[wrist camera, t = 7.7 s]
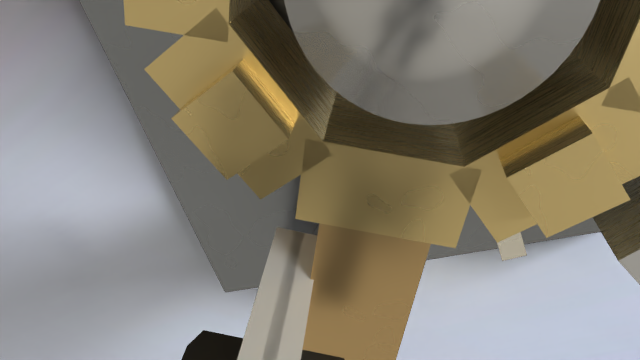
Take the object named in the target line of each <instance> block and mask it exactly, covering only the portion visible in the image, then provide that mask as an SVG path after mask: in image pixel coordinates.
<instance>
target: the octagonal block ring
mask: <svg viewBox="0 0 640 360" xmlns="http://www.w3.org/2000/svg"><path fill="white" fill-rule="evenodd" d="M124 15H125V25H127V26H133V27H139V28H145V29H151V30H157V31H163V32H169V33H175V34H180V35H184V36H183V37H181V38H180V39H179V40H178V41H177V42H176V43H174V44H173V45H172V46H171V47H170V48H168V49H167V50H166V51H165V52H164V53H163V54H161V55H160V56H159V57H158V58H157V59H156V60H154V61H153V62H152V63H151V64H150V65H149V66H147V67H146V68H145V69H144V70H145V71H146V72H147V73H148V74H149V75H150V76H151V78H152V79H153V80H154V81H155V82H156V83H157V84H158V85H159V87H160V88H161V89H162V90H163V91H164V92H165V93H166V94H167V95H168V97H169V98H170V99H171V100H172V101H173V102H174V103H175V104H176V106H177V107H178V108H179V109H180V110H179V111H178V112H177V113H176V114H175V115H174V116H173V117H172V118H171V119H172V120H173V121H174V122H175V123H176V124H177V126H178V127H179V128H180V129H181V130H182V131H183V132H184V133H185V134H186V135H187V137H188V138H189V139H190V140H191V141H192V142H193V143H194V144H195V145H196V146H197V148H198V149H199V150H200V151H201V152H202V153H203V154H204V155H205V156H206V158H207V159H208V160H209V161H210V162H211V163H212V164H213V165H214V166H215V167H216V169H217V170H218V171H219V172H220V173H221V174H222V175H223V176H224V177H225V178H226V180H228V179H229V178H231V177H232V176H234V175H235V174H238V175H239V176H240V177H241V178H242V179H243V181H244V182H245V183H246V184H247V185H248V186H249V187H250V188H251V189H252V191H253V192H254V193H255V194H256V195H257V196H258V197H259V198H260V200H261V199H262V198H264V197H266V196H267V195H269V194H270V193H272V192H274V191H275V190H277V189H278V188H280V187H282V186H283V185H285V184H286V183H288V182H290V181H291V180H293V179H295V178H296V177H298V176H299V175H301V179H300V186H299V194H298V201H297V209H296V216H295V219H299V220H304V221H310V222H315V223H319V229H318V235H317V241H316V247H315V254H314V260H313V266H312V272H311V278H310V279H312V280H314V282H313V288H312V294H311V300H310V306H309V312H308V318H307V325H306V331H305V337H304V343H303V349H302V350H307V351H312V352H317V353H322V354H327V355H332V356H337V357H341V358H344V359H345V360H396V357H397V354H398V350H399V347H400V344H401V341H402V337H403V334H404V331H405V327H406V324H407V321H408V317H409V314H410V311H411V308H412V304H413V301H414V298H415V294H416V291H417V288H418V285H419V281H420V278H421V275H422V271H423V268H424V265H425V261H426V258H427V255H428V252H429V248H430V245H431V244H435V245H441V246H446V247H451V248H456V246H457V243H458V240H459V237H460V234H461V231H462V228H463V225H464V222H465V219H466V216H467V213H468V210H469V207H470V205H471V207H472V208H473V209H474V211H475V212H476V214H477V215H478V216H479V218H480V219H481V221H482V222H483V223H484V225H485V226H486V228H487V229H488V230H489V232H490V233H491V235H492V236H493V237H494V239H495V240H496V242H497V243H498V242H500V241H502V240H504V239H506V238H508V237H511V236H513V235H515V234H517V233H519V232H521V231H523V230H526V229H528V228H530V227H532V226H534V225H536V224H538V226H539V227H540V229H541V230H542V232H543V233H544V235H545V236H546V238H548V237H550V236H552V235H554V234H556V233H559V232H561V231H563V230H565V229H567V228H570V227H572V226H574V225H576V224H578V223H581V222H583V221H585V220H587V219H589V218H592V217H594V216H596V215H598V214H600V213H603V212H605V211H607V210H609V209H611V208H614V207H616V206H618V205H620V204H622V203H625V202H627V201H629V200H630V198H629V196H628V194H627V193H626V191H625V189H624V187H623V186H622V184H624V183H626V182H628V181H630V180H632V179H634V178H636V177H639V176H640V0H600V2H599V5H598V7H597V10H596V12H595V14H594V17H593V19H592V21H591V22H590V24H589V26H588V28H587V30H586V31H585V33H584V35H583V37H582V38H581V40H580V41H579V43H578V44H577V45H576V47H575V48H574V49H573V51H572V52H571V54H570V55H569V56H568V57H567V59H566V60H565V61H564V62H563V63H562V64H561V65H560V66H559V67H558V69H557V70H556V71H555V72H554V73H553V74H552V75H550V76H549V77H548V78H547V79H546V80H545V81H544V82H543V83H541V84H540V85H539V86H538V87H537V88H535V89H534V90H532V91H531V92H530V93H528V94H527V95H525V96H524V97H522V98H521V99H519V100H517V101H516V102H514V103H512V104H510V105H508V106H506V107H505V108H503V109H500V110H498V111H495V112H493V113H491V114H488V115H486V116H483V117H479V118H476V119H472V120H469V121H465V122H459V123H453V124H445V125H418V124H408V123H403V122H398V121H393V120H390V119H387V118H383V117H380V116H377V115H375V114H372V113H370V112H368V111H366V110H364V109H362V108H360V107H358V106H356V105H355V104H353V103H352V102H350V101H349V100H347V99H345V98H344V97H343V96H341V95H340V94H339V93H338V92H337V91H335V90H334V89H333V88H332V87H330V86H329V85H328V83H327V82H326V81H325V80H324V79H323V78H322V77H321V76H320V75H319V74H318V73H317V72H316V70H315V69H314V67H313V66H312V65H311V63H310V62H309V61H308V59H307V58H306V56H305V54H304V52H303V51H302V49H301V47H300V45H299V43H298V42H297V39H296V37H295V35H294V33H293V32H292V31H291V29H290V28H289V27H288V25H287V24H286V23H285V21H284V20H283V19H282V17H281V16H280V15H279V13H278V12H277V11H276V9H275V8H274V7H273V5H272V4H271V3H270V1H269V0H124Z"/></svg>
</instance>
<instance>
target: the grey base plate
mask: <svg viewBox="0 0 640 360" xmlns="http://www.w3.org/2000/svg"><path fill="white" fill-rule="evenodd" d="M79 1H80V3H81V5H82V7H83V9H84V11H85V13H86V15H87V17H88V19H89V21H90V23H91V25H92V27H93V29H94V31H95V33H96V35H97V37H98V39H99V41H100V43H101V45H102V47H103V49H104V51H105V53H106V55H107V57H108V59H109V61H110V63H111V65H112V67H113V69H114V71H115V73H116V75H117V77H118V79H119V81H120V83H121V85H122V87H123V89H124V91H125V93H126V95H127V97H128V99H129V101H130V103H131V105H132V107H133V109H134V111H135V113H136V115H137V117H138V119H139V121H140V123H141V125H142V127H143V129H144V131H145V133H146V135H147V137H148V139H149V141H150V143H151V145H152V147H153V149H154V151H155V153H156V155H157V157H158V159H159V161H160V163H161V165H162V167H163V169H164V171H165V173H166V175H167V177H168V179H169V181H170V183H171V185H172V187H173V189H174V191H175V193H176V195H177V197H178V199H179V201H180V203H181V205H182V207H183V209H184V211H185V213H186V215H187V217H188V219H189V221H190V223H191V225H192V227H193V229H194V231H195V233H196V235H197V237H198V239H199V241H200V243H201V245H202V247H203V249H204V251H205V253H206V255H207V257H208V259H209V261H210V263H211V265H212V267H213V269H214V271H215V273H216V275H217V277H218V279H219V281H220V283H221V285H222V287H223V289H224V291H225V292H231V291H237V290H243V289H250V288H256V287H259V285H260V282H261V278H262V275H263V272H264V268H265V265H266V262H267V258H268V255H269V252H270V249H271V245H272V242H273V239H274V235H275V232H276V229H277V227H279V228H284V229H289V230H294V231H298V232H303V233H307V234H312V235H318V229H319V223H315V222H310V221H304V220H299V219H295V216H296V209H297V201H298V194H299V186H300V179H301V175H299V176H298V177H296V178H295V179H293V180H291V181H290V182H288V183H286V184H285V185H283V186H282V187H280V188H278V189H277V190H275V191H274V192H272V193H270V194H269V195H267V196H266V197H264V198H262V199H261V200H260V198H259V197H258V196H257V195H256V194H255V193H254V192H253V191H252V189H251V188H250V187H249V186H248V185H247V184H246V183H245V182H244V181H243V179H242V178H241V177H240V176H239V175H238V174H235V175H234V176H232V177H231V178H229V179H228V180H226V178H225V177H224V176H223V175H222V174H221V173H220V172H219V171H218V170H217V169H216V167H215V166H214V165H213V164H212V163H211V162H210V161H209V160H208V159H207V158H206V156H205V155H204V154H203V153H202V152H201V151H200V150H199V149H198V148H197V146H196V145H195V144H194V143H193V142H192V141H191V140H190V139H189V138H188V137H187V135H186V134H185V133H184V132H183V131H182V130H181V129H180V128H179V127H178V126H177V124H176V123H175V122H174V121H173V120H172V119H171V118H172V117H173V116H174V115H175V114H176V113H177V112H178V111H179V110H180V109H179V108H178V107H177V106H176V104H175V103H174V102H173V101H172V100H171V99H170V98H169V97H168V95H167V94H166V93H165V92H164V91H163V90H162V89H161V88H160V87H159V85H158V84H157V83H156V82H155V81H154V80H153V79H152V78H151V76H150V75H149V74H148V73H147V72H146V71H145V70H144V69H145V68H146V67H147V66H149V65H150V64H151V63H152V62H153V61H154V60H156V59H157V58H158V57H159V56H160V55H161V54H163V53H164V52H165V51H166V50H167V49H168V48H170V47H171V46H172V45H173V44H174V43H176V42H177V41H178V40H179V39H180V38H181V37H183V36H184V35H180V34H175V33H169V32H163V31H157V30H151V29H145V28H139V27H133V26H127V25H125V15H124V0H79ZM269 1H270V3H271V4H272V5H273V7H274V8H275V9H276V11H277V12H278V13H279V15H280V16H281V17H282V19H283V20H284V21H285V23H286V24H287V25H288V27H289V28H290V29H291V31H292V32H293V33H294V35H295V37H296V39H297V42H298V43H299V45H300V47H301V49H302V51H303V52H304V54H305V56H306V58H307V59H308V61H309V62H310V63H311V65H312V66H313V67H314V69H315V70H316V72H317V73H318V74H319V75H320V76H321V77H322V78H323V79H324V80H325V81H326V82H327V83H328V85H329V86H330V87H332V88H333V89H334V90H335V91H337V92H338V93H339V94H340V95H341V96H343V97H344V98H345V99H347V100H349V101H350V102H352V103H353V104H355V105H356V106H358V107H360V108H362V109H364V110H366V111H368V112H370V113H372V114H375V115H377V116H380V117H383V118H387V119H390V120H393V121H398V122H403V123H408V124H418V125H445V124H453V123H459V122H465V121H469V120H472V119H476V118H479V117H483V116H486V115H488V114H491V113H493V112H495V111H498V110H500V109H503V108H505V107H506V106H508V105H510V104H512V103H514V102H516V101H517V100H519V99H521V98H522V97H524V96H525V95H527V94H528V93H530V92H531V91H532V90H534V89H535V88H537V87H538V86H539V85H540V84H541V83H543V82H544V81H545V80H546V79H547V78H548V77H549V76H550V75H552V74H553V73H554V72H555V71H556V70H557V69H558V67H559V66H560V65H561V64H562V63H563V62H564V61H565V60H566V59H567V57H568V56H569V55H570V54H571V52H572V51H573V49H574V48H575V47H576V45H577V44H578V43H579V41H580V40H581V38H582V37H583V35H584V33H585V31H586V30H587V28H588V26H589V24H590V22H591V21H592V19H593V17H594V14H595V12H596V10H597V7H598V5H599V2H600V0H269ZM622 186H623V187H624V189H625V191H626V193H627V194H628V196H629V198H630V200H629V201H627V202H625V203H622V204H620V205H618V206H616V207H614V208H611V209H609V210H607V211H605V212H603V213H600V214H598V215H596V216H594V217H592V218H589V219H587V220H585V221H583V222H581V223H578V224H576V225H574V226H572V227H570V228H567V229H565V230H563V231H561V232H559V233H556V234H554V235H552V236H550V237H548V238H546V236H545V235H544V233H543V232H542V230H541V229H540V227H539V226H538V224H536V225H534V226H532V227H530V228H528V229H526V230H523V231H521V232H519V233H517V234H515V235H513V236H511V237H508V238H506V239H504V240H502V241H500V242H498V243H497V242H496V240H495V239H494V237H493V236H492V235H491V233H490V232H489V230H488V229H487V228H486V226H485V225H484V223H483V222H482V221H481V219H480V218H479V216H478V215H477V214H476V212H475V211H474V209H473V208H472V207H471V205H470V207H469V210H468V213H467V216H466V219H465V222H464V225H463V228H462V231H461V234H460V237H459V240H458V243H457V246H456V248H451V247H446V246H441V245H435V244H431V245H430V248H429V252H428V255H427V258H426V260H429V259H435V258H442V257H448V256H454V255H460V254H466V253H473V252H479V251H485V250H491V249H497V248H499V251H500V254H501V258H502V261H504V260H508V259H513V258H517V257H522V256H526V255H527V254H526V250H525V246H524V244H528V243H535V242H541V241H547V240H553V239H559V238H566V237H572V236H578V235H584V234H590V233H597V232H601V233H602V234H603V236H604V238H605V239H606V241H607V243H608V244H609V246H610V248H611V249H612V251H613V253H614V254H615V256H616V258H617V260H618V261H619V262H620V263H621V264H622V266H623V267H624V268H625V269H626V270H627V271H628V272H629V273H630V274H631V276H632V277H633V278H634V279H635V280H636V281H637V282H638V283H639V284H640V176H639V177H636V178H634V179H632V180H630V181H628V182H626V183H624V184H622Z"/></svg>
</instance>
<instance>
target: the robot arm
mask: <svg viewBox="0 0 640 360" xmlns="http://www.w3.org/2000/svg"><path fill="white" fill-rule="evenodd" d="M316 241H317V235H312V234H307V233H303V232H298V231H294V230H289V229H284V228H279V227H277V229H276V232H275V235H274V239H273V242H272V245H271V249H270V252H269V255H268V258H267V262H266V265H265V268H264V272H263V275H262V278H261V282H260V285H259V288H258V292H257V295H256V298H255V302H254V305H253V308H252V312H251V315H250V318H249V322H248V325H247V328H246V332H245V335H244V338H238V337H234V336H229V335H224V334H219V333H214V332H209V331H204V330H203V331H202V332H201V333H200V334H199V335H198V336H197V337H196V338H195V339H194V340H193V341H192V342H191V343H190V344H189V345H188V346H187V348H186V350H185V353H184V355H183V357H182V360H345V359H344V358H341V357H337V356H332V355H327V354H322V353H317V352H312V351H307V350H302V349H303V343H304V337H305V331H306V325H307V318H308V312H309V306H310V300H311V294H312V288H313V282H314V280H312V279H310V278H311V272H312V266H313V260H314V254H315V247H316Z"/></svg>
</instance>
